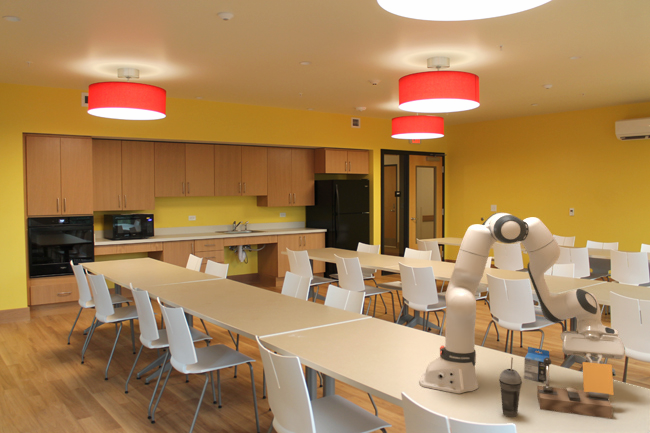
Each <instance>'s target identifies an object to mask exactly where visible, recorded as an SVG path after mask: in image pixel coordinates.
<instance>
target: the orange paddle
mask: <svg viewBox="0 0 650 433" xmlns="http://www.w3.org/2000/svg"><path fill="white" fill-rule="evenodd" d="M613 376H614V375H613V365H612V364H608V363H601V362H600V363H589V362H588V361H582V382H583V391H584V392H588V395H589V397H598V398H607V399H609V398H610V395H611V396H614V395H615V394H614V379H613ZM609 400H610V399H609Z"/></svg>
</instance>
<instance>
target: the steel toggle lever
mask: <svg viewBox="0 0 650 433" xmlns="http://www.w3.org/2000/svg"><path fill="white" fill-rule="evenodd" d="M544 364H545V365H546V383H545V384H546V385H542V386H543V391H546V392H553V386H550V365H551V364H552V359H551V358H550V359H549V358H545V359H544Z"/></svg>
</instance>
